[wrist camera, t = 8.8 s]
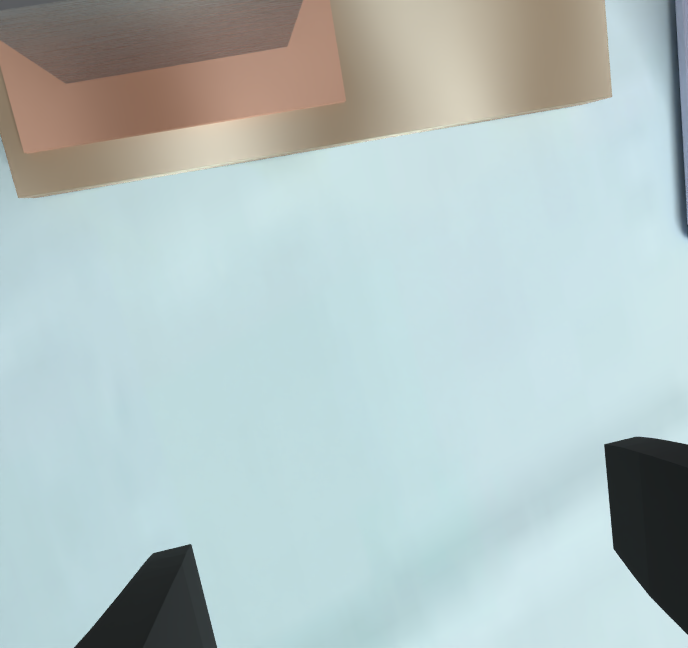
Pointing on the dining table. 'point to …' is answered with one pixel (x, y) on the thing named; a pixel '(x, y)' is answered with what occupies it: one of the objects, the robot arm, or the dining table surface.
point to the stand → (305, 90)
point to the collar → (140, 32)
